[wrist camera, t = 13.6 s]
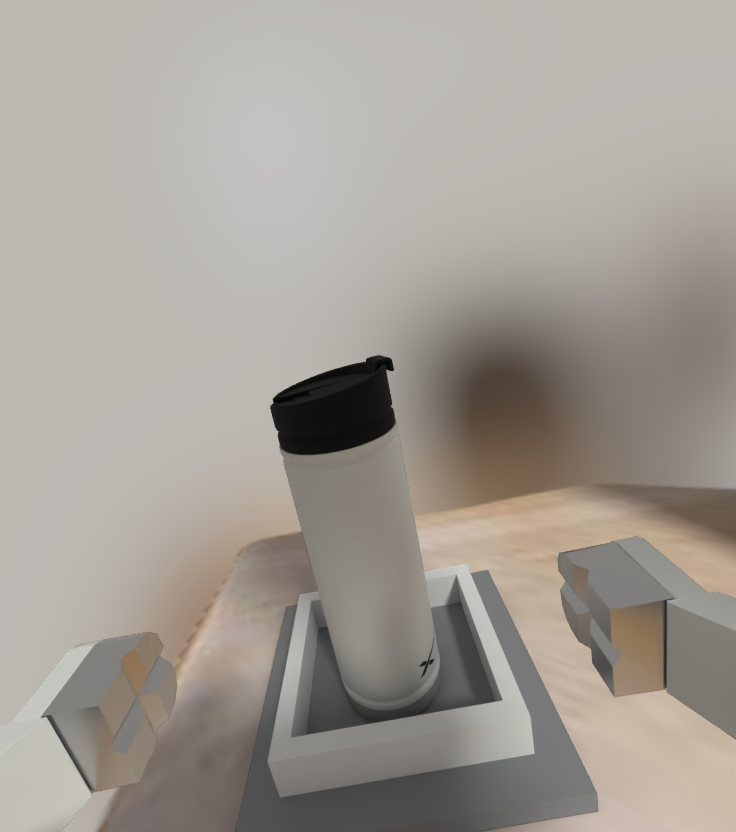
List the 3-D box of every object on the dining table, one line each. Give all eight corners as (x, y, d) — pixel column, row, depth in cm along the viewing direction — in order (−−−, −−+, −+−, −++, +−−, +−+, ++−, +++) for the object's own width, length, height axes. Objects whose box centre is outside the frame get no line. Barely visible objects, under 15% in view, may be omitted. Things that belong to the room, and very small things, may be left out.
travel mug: (466, 697, 24) (410, 360, 19) (358, 744, 23) (264, 395, 17) (424, 623, 30) (372, 351, 25) (336, 657, 29) (261, 376, 23)
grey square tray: (489, 582, 34) (484, 543, 33) (598, 811, 19) (594, 752, 18) (289, 618, 35) (278, 581, 34) (237, 871, 19) (214, 818, 18)
